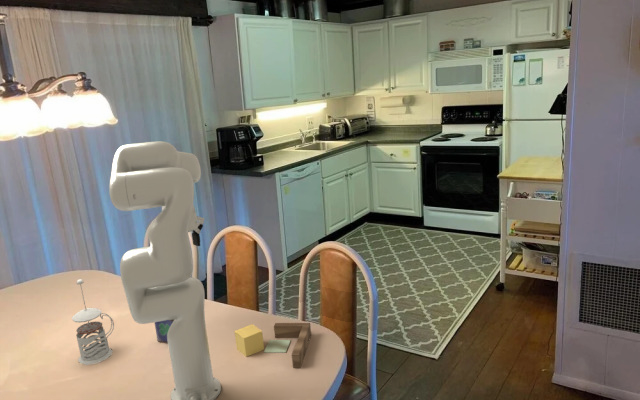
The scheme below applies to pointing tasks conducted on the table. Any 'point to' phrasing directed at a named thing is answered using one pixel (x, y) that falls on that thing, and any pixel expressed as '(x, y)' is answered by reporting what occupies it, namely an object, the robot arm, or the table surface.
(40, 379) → the table surface
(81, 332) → the french press
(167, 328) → the purple clover tin
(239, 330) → the cube
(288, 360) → the table surface
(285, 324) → the brown l-shaped piece
